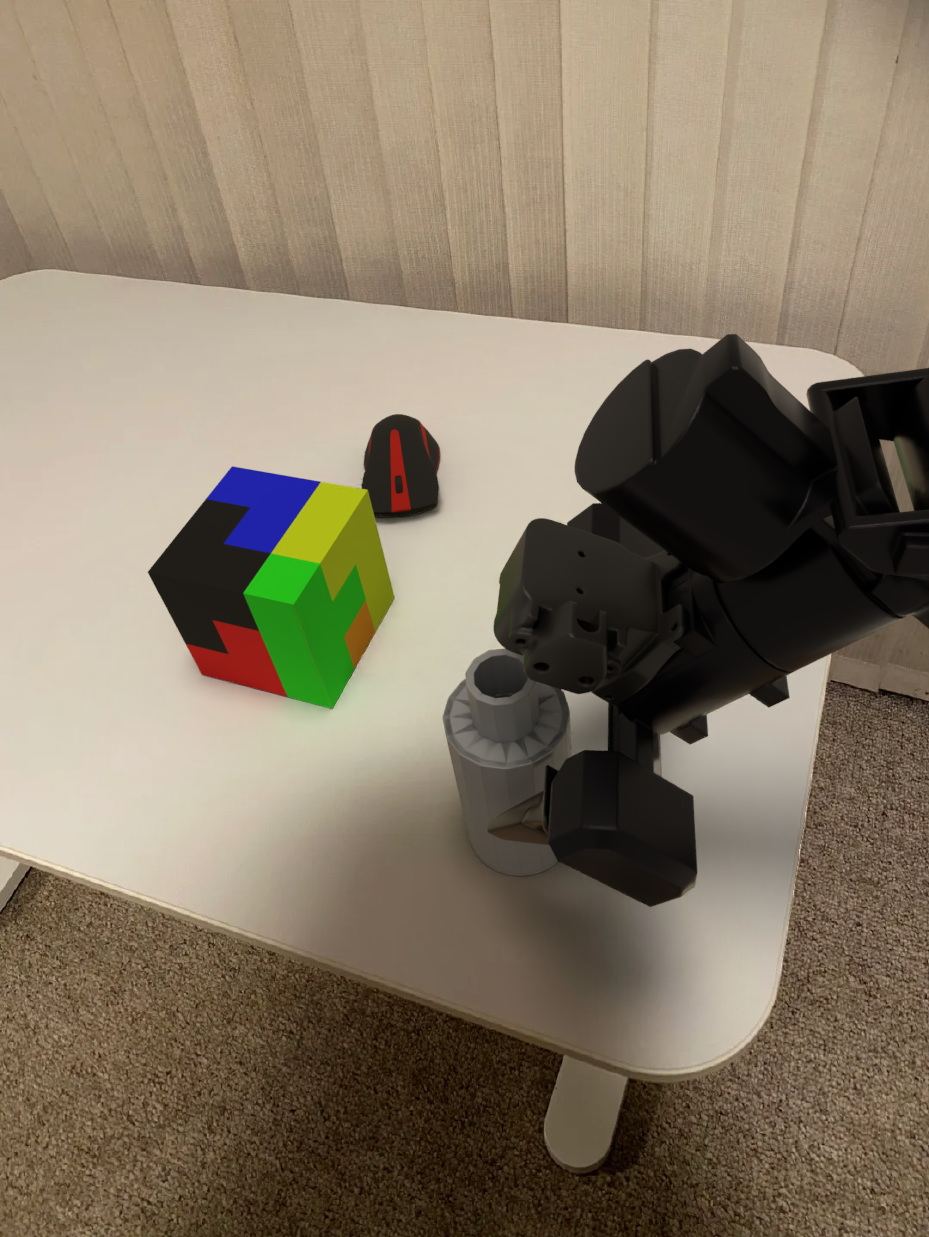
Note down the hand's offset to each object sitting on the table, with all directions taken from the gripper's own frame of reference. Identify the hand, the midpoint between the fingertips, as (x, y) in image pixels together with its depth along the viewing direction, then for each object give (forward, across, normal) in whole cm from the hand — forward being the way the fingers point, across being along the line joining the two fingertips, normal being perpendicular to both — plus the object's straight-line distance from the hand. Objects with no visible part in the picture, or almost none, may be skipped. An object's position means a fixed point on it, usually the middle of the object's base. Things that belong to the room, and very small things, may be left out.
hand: (502, 749), depth 46 cm
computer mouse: (+14, -30, -2) cm, 33 cm away
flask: (+5, 0, +6) cm, 8 cm away
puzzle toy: (+17, -14, -6) cm, 23 cm away
